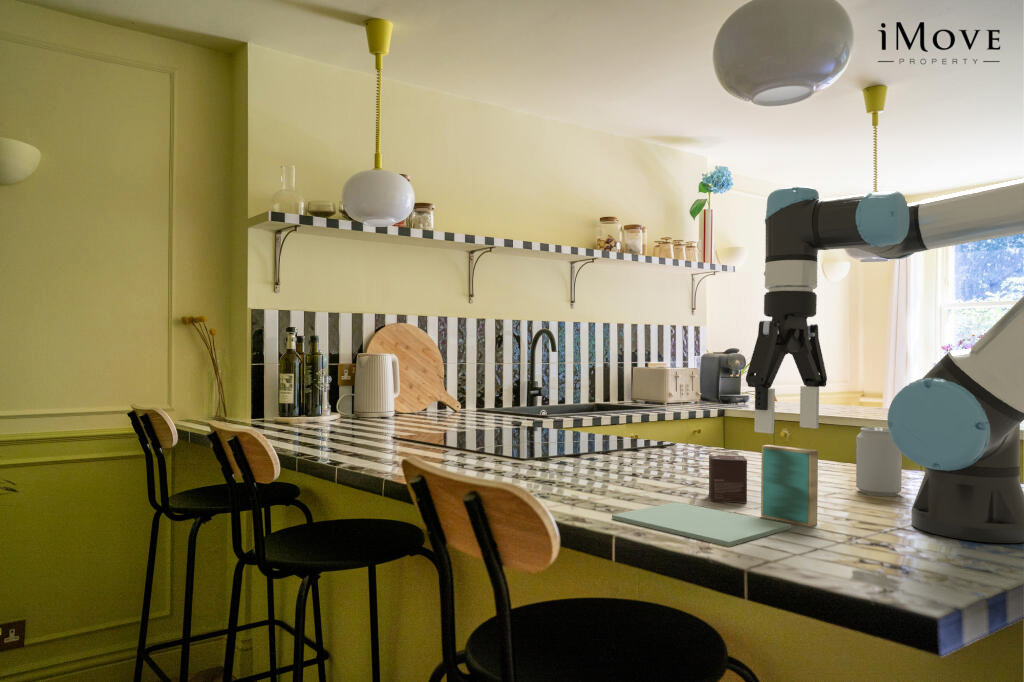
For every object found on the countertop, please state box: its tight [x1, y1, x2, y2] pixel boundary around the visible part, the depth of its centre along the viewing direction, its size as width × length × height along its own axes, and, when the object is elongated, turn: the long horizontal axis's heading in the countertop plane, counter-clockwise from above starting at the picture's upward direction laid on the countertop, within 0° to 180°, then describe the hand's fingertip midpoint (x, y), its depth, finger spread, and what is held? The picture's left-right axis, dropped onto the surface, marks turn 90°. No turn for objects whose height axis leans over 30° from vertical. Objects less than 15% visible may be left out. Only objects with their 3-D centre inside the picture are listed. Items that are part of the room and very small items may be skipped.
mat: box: [611, 501, 792, 547], centre depth 108 cm, size 20×16×1 cm
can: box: [855, 426, 903, 497], centre depth 135 cm, size 8×8×12 cm
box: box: [708, 454, 748, 504], centre depth 127 cm, size 6×6×7 cm
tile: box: [760, 444, 819, 527], centre depth 111 cm, size 8×2×11 cm, turn 41°
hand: (787, 430), depth 112 cm, fingers open, 13 cm apart
